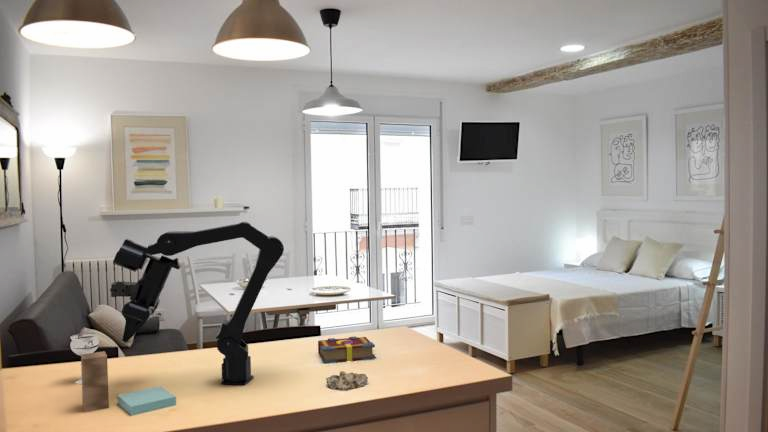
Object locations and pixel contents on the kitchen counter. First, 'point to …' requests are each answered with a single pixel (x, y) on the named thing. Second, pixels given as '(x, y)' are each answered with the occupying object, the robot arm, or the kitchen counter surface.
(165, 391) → the ceramic plinth
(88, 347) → the wineglass
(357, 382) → the mineral rock
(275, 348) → the kitchen counter surface
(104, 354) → the walnut post
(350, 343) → the decorative book
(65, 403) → the kitchen counter surface
